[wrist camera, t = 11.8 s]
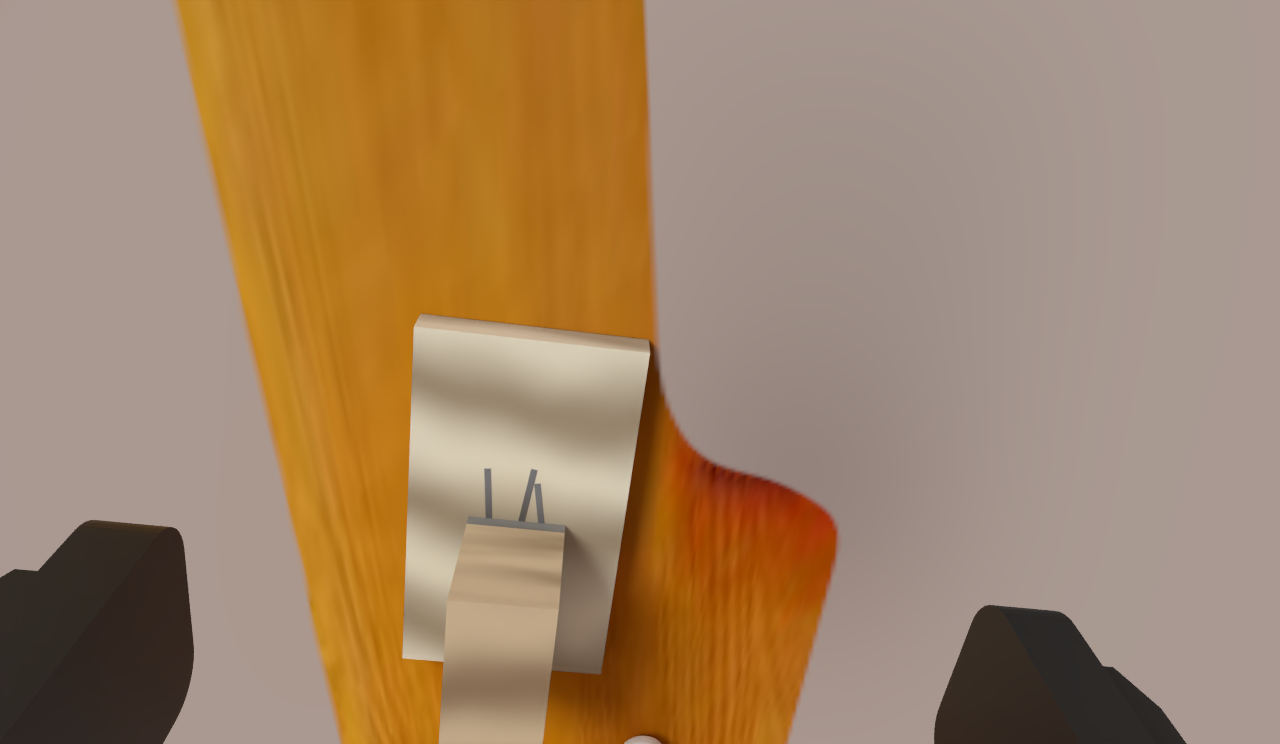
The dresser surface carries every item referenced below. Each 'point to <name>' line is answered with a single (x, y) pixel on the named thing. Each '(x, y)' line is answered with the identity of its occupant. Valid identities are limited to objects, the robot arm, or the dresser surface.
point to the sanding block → (501, 632)
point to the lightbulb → (642, 740)
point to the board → (520, 463)
